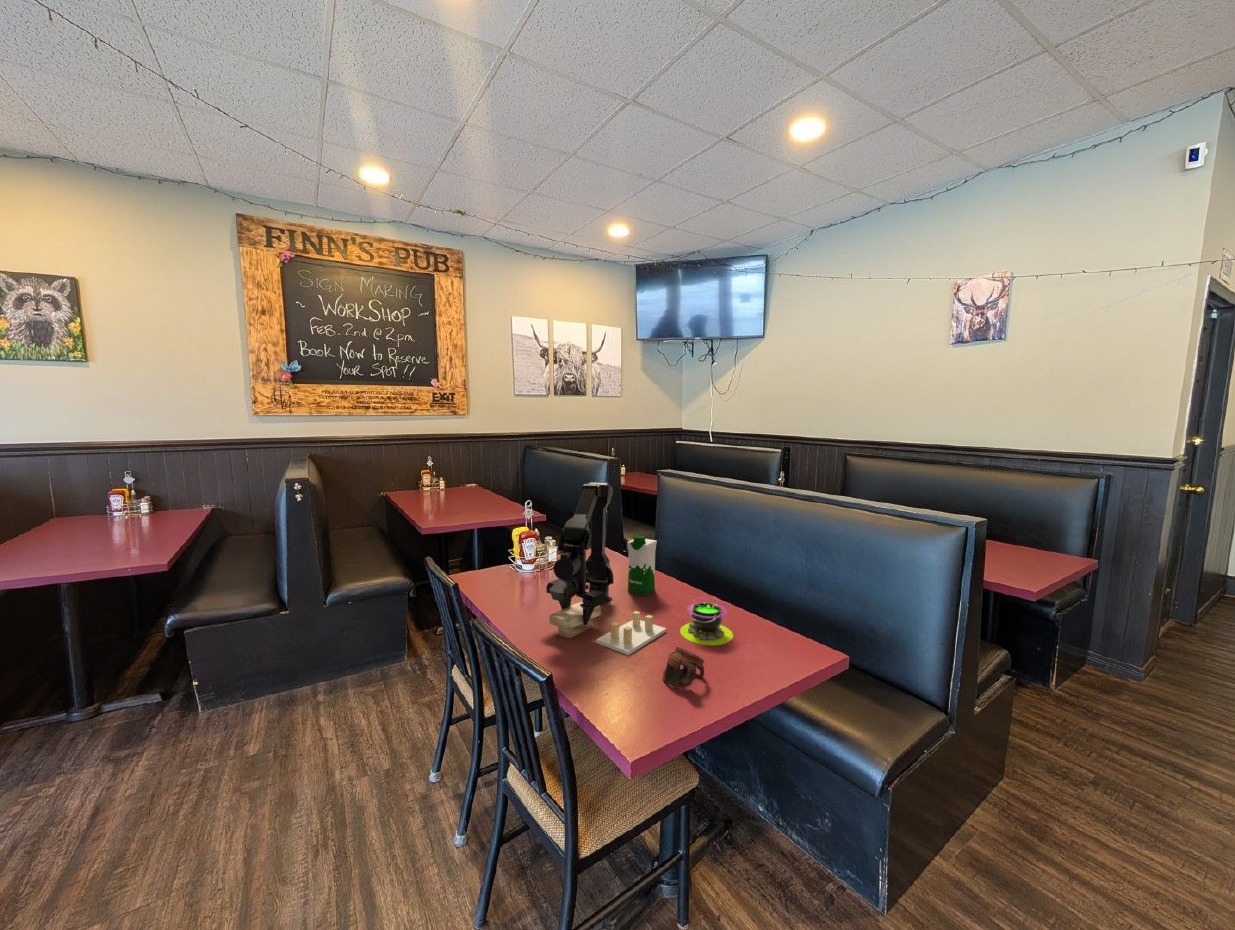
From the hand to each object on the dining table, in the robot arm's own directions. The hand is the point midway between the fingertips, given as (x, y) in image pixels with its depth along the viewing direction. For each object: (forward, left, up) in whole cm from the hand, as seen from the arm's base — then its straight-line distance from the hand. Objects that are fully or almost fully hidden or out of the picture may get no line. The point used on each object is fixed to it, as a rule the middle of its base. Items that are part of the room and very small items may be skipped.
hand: (575, 621), depth 145 cm
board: (0, 0, +1) cm, 1 cm away
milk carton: (-38, -4, -3) cm, 38 cm away
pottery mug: (+4, +38, -3) cm, 38 cm away
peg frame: (-7, +15, -3) cm, 17 cm away
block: (0, 0, -3) cm, 3 cm away
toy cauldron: (-23, +30, -3) cm, 38 cm away
